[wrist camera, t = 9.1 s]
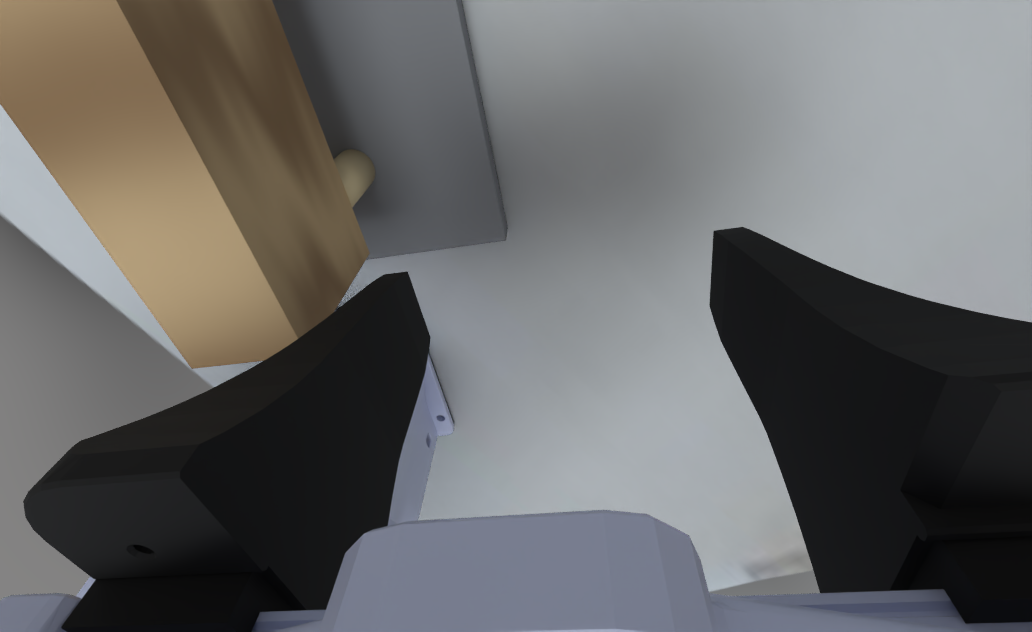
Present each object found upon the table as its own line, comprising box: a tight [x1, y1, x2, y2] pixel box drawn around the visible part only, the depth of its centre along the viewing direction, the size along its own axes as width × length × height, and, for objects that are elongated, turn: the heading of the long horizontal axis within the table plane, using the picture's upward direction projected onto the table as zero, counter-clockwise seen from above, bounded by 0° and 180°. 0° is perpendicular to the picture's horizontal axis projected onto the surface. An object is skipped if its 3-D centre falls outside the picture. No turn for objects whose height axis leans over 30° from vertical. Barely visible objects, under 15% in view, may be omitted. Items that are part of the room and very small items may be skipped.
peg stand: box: [272, 0, 508, 260], centre depth 17 cm, size 18×13×4 cm
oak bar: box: [0, 0, 370, 369], centre depth 13 cm, size 14×4×6 cm, turn 10°
